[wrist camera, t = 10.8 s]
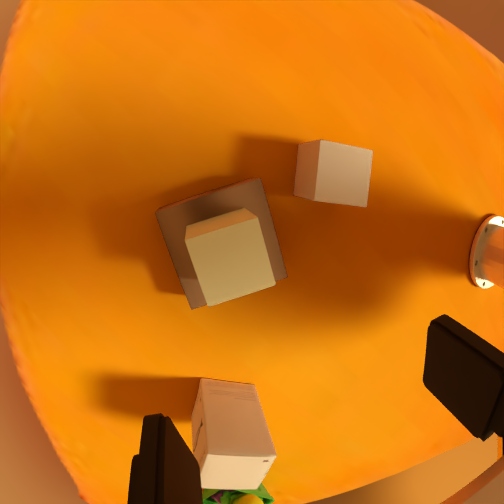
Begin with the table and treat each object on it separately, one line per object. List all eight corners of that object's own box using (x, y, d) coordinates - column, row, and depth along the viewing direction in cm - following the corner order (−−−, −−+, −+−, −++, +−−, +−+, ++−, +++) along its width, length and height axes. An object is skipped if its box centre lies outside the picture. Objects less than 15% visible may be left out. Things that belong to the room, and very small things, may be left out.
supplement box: (199, 375, 36) (206, 452, 24) (256, 383, 38) (280, 455, 26) (189, 415, 37) (193, 488, 25) (241, 421, 39) (258, 491, 27)
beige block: (244, 207, 28) (257, 217, 22) (260, 263, 30) (275, 285, 24) (186, 225, 28) (184, 240, 22) (205, 280, 29) (208, 307, 23)
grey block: (344, 152, 32) (372, 150, 26) (339, 200, 33) (366, 207, 28) (298, 144, 31) (320, 139, 25) (293, 195, 32) (314, 200, 27)
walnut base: (252, 177, 31) (260, 178, 28) (277, 265, 34) (287, 277, 31) (159, 207, 30) (155, 212, 27) (191, 294, 33) (191, 309, 30)
